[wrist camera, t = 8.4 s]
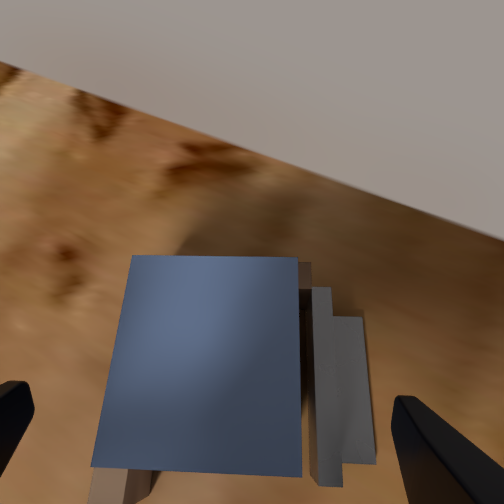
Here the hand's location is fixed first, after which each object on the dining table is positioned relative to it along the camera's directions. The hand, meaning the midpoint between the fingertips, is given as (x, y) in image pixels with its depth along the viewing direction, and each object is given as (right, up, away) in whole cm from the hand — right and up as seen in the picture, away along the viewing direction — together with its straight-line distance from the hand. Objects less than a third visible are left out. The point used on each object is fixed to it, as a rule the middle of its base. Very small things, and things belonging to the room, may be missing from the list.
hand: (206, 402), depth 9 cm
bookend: (+4, -2, +7) cm, 9 cm away
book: (0, -2, +8) cm, 8 cm away
